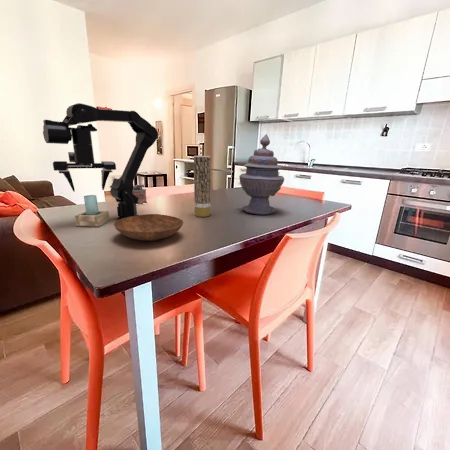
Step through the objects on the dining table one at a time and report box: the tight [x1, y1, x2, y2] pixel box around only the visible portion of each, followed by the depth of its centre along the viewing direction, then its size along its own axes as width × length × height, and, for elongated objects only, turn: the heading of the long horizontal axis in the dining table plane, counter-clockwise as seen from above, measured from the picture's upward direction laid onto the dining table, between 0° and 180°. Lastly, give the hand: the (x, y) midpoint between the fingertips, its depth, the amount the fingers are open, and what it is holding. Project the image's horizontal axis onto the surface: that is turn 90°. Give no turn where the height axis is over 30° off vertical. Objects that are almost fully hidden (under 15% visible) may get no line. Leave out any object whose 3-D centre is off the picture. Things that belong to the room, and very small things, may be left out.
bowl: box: [113, 213, 184, 242], centre depth 77 cm, size 20×22×5 cm
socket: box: [74, 210, 111, 228], centre depth 90 cm, size 8×8×4 cm
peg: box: [83, 194, 99, 215], centre depth 89 cm, size 4×4×10 cm
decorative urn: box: [238, 133, 285, 216], centre depth 110 cm, size 20×20×35 cm
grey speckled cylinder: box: [193, 155, 212, 218], centre depth 102 cm, size 7×7×25 cm
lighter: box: [133, 184, 148, 205], centre depth 126 cm, size 8×3×10 cm, turn 143°
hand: (88, 190), depth 87 cm, fingers open, 9 cm apart
